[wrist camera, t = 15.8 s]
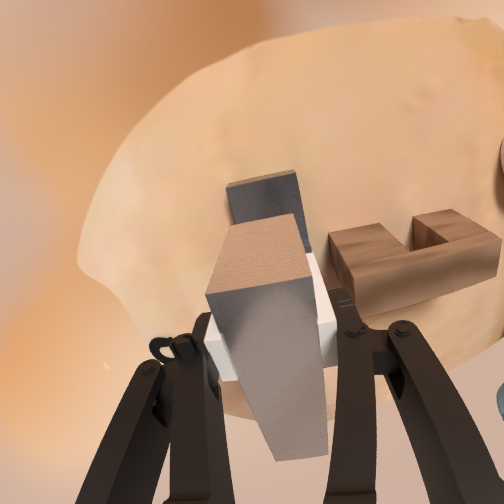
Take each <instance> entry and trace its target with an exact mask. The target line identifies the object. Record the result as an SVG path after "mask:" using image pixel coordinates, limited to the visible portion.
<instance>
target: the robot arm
mask: <svg viewBox="0 0 504 504" xmlns="http://www.w3.org/2000/svg"><path fill="white" fill-rule="evenodd" d="M306 256H307V259H308V263H309V266H310V269H311V273H312V277H313V284H314V291H315V299H316V307H317V315H318V321H317V324H318V332H319V341H320V349H321V359H322V367H323V368H327V367H332V366H337V365H338V377H337V397H336V412H335V424H334V435H333V444H332V454H331V461H330V469H329V476H328V483H327V489H326V493H325V497H324V501H323V504H376V491H375V478H376V451H377V449H376V448H377V440H376V439H377V433H376V430H377V428H376V397H375V381H374V375H384V377H385V379H386V382H387V384H388V386H389V389H390V391H391V394H392V396H393V399H394V401H395V403H396V406H397V408H398V411H399V413H400V416H401V419H402V421H403V424H404V426H405V429H406V432H407V434H408V437H409V440H410V442H411V445H412V448H413V451H414V453H415V457H416V459H417V462H418V465H419V468H420V471H421V475H422V478H423V481H424V484H425V487H426V490H427V494H428V497H429V501H430V504H504V481H503V480H502V479H501V478H500V477H499V475H498V473H497V470H496V468H495V465H494V463H493V460H492V458H491V456H490V454H489V452H488V449H487V447H486V445H485V443H484V441H483V439H482V436H481V435H480V432H479V430H478V428H477V426H476V425H475V422H474V421H473V419H472V417H471V415H470V413H469V411H468V409H467V407H466V406H465V404H464V402H463V400H462V398H461V397H460V395H459V393H458V391H457V389H456V388H455V386H454V384H453V383H452V381H451V379H450V378H449V376H448V374H447V373H446V371H445V369H444V368H443V366H442V364H441V363H440V361H439V360H438V358H437V356H436V355H435V353H434V352H433V350H432V349H431V347H430V346H429V344H428V343H427V341H426V340H425V338H424V337H423V335H422V334H421V332H420V331H419V329H418V328H417V326H416V325H415V324H414V323H412V322H410V321H406V320H400V321H396V322H394V323H392V324H391V325H390V326H389V328H388V330H374V329H370V328H368V326H367V325H366V324H365V323H363V322H362V320H361V318H360V315H359V313H358V311H357V308H356V306H355V304H354V302H353V300H352V297H351V295H350V293H349V292H348V291H347V290H345V289H344V288H340V289H335V290H330V291H327V290H326V287H325V285H324V282H323V279H322V276H321V273H320V270H319V267H318V265H317V262H316V259H315V256H314V253H313V252H312V253H307V254H306ZM169 347H170V349H171V351H172V353H173V354H174V356H175V358H176V361H173V362H170V363H167V364H164V365H161V363H160V362H159V361H158V360H155V359H150V360H147V361H144V362H143V363H141V364H140V365H139V366H138V368H137V369H136V371H135V373H134V375H133V377H132V379H131V381H130V383H129V385H128V387H127V389H126V391H125V393H124V395H123V397H122V399H121V401H120V403H119V405H118V407H117V409H116V412H115V413H114V415H113V418H112V420H111V422H110V424H109V426H108V428H107V430H106V433H105V435H104V437H103V439H102V441H101V443H100V446H99V448H98V450H97V453H96V455H95V457H94V459H93V461H92V464H91V466H90V469H89V471H88V473H87V475H86V478H85V480H84V483H83V485H82V488H81V490H80V492H79V495H78V497H77V500H76V502H75V504H152V500H153V497H154V494H155V490H156V487H157V483H158V480H159V476H160V473H161V470H162V467H163V463H164V460H165V457H166V454H167V450H168V447H169V444H170V496H169V498H168V499H167V500H166V501H164V502H163V504H235V499H234V494H233V486H232V479H231V471H230V465H229V456H228V449H227V442H226V433H225V424H224V414H223V405H222V395H221V387H220V385H219V383H218V379H219V375H220V377H221V379H222V381H223V382H224V381H236V380H238V376H237V373H236V371H235V369H234V366H233V364H232V362H231V359H230V357H229V354H228V352H227V349H226V347H225V344H224V342H223V339H222V337H221V336H220V333H219V330H218V328H217V325H216V323H215V320H214V317H213V315H212V312H206V313H202V314H201V315H200V316H199V317H198V318H197V319H196V322H195V325H194V328H193V332H192V334H190V333H185V334H181V335H178V336H177V337H175V338H174V339H173V340H172V341H171V342H170V344H169ZM497 405H498V409H499V412H500V414H501V415H502V419H503V421H504V383H503V385H502V386H501V387H500V388H499V390H498V392H497Z"/></svg>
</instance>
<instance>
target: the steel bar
mask: <svg viewBox="0 0 504 504" xmlns="http://www.w3.org/2000/svg"><path fill="white" fill-rule="evenodd" d="M205 296H206V298H207V301H208V304H209V307H210V309H211V312H212V315H213V317H214V320H215V323H216V325H217V328H218V330H219V333H220V336H221V337H222V339H223V342H224V344H225V347H226V349H227V352H228V354H229V357H230V359H231V362H232V364H233V366H234V369H235V371H236V373H237V376H238V380H239V382H240V384H241V387H242V389H243V391H244V394H245V396H246V398H247V401H248V403H249V405H250V407H251V410H252V412H253V414H254V416H255V418H256V421H257V423H258V425H259V427H260V429H261V431H262V434H263V436H264V438H265V440H266V442H267V444H268V446H269V448H270V450H271V452H272V454H273V456H274V458H275V460H276V461H285V460H295V459H303V458H310V457H317V456H323V455H328V433H327V414H326V398H325V385H324V373H323V367H322V359H321V349H320V341H319V332H318V324H317V321H318V315H317V307H316V299H315V291H314V284H313V277H312V273H311V269H310V266H309V263H308V259H307V256H306V253H305V250H304V246H303V243H302V240H301V237H300V234H299V231H298V227H297V224H296V221H295V218H294V215H293V213H291V214H286V215H281V216H276V217H271V218H266V219H261V220H256V221H251V222H246V223H241V224H236V225H232V226H230V228H229V231H228V233H227V236H226V238H225V241H224V244H223V247H222V249H221V252H220V255H219V257H218V260H217V263H216V265H215V268H214V271H213V274H212V276H211V279H210V282H209V285H208V288H207V290H206V293H205Z"/></svg>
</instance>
